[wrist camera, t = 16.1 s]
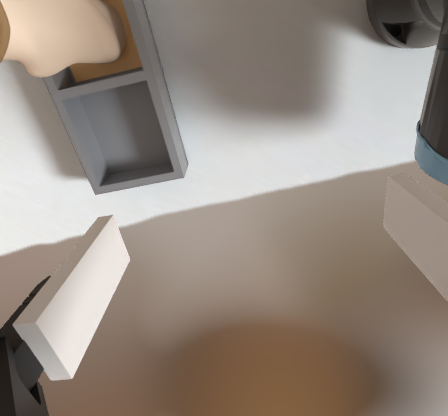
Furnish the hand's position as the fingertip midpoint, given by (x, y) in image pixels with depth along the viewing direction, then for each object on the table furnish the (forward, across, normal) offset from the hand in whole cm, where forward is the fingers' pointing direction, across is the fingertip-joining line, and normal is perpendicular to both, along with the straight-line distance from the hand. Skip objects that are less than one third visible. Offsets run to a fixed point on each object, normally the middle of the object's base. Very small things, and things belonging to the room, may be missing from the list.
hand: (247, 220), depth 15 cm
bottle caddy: (+36, +17, -6) cm, 40 cm away
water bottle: (+35, +18, -13) cm, 41 cm away
